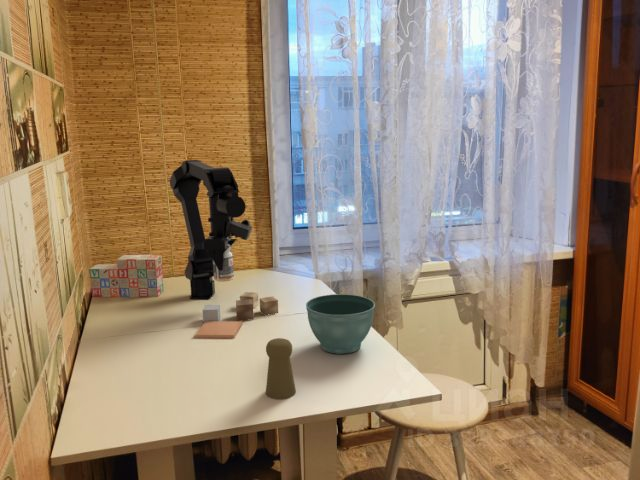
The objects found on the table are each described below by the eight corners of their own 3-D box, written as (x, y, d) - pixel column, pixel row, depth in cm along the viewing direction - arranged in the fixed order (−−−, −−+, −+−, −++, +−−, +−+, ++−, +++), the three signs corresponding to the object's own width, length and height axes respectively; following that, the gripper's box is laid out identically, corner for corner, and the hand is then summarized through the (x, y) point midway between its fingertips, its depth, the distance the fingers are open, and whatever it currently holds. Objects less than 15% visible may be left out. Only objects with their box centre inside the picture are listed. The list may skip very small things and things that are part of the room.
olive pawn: (265, 386, 121) (263, 335, 118) (295, 384, 121) (293, 334, 119) (265, 400, 115) (263, 347, 112) (296, 398, 115) (294, 345, 113)
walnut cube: (237, 321, 160) (236, 305, 159) (236, 315, 164) (235, 300, 164) (253, 319, 161) (253, 304, 160) (252, 314, 165) (252, 299, 164)
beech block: (240, 309, 170) (240, 296, 169) (245, 305, 174) (245, 292, 173) (253, 310, 169) (253, 296, 168) (258, 305, 173) (257, 292, 172)
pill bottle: (237, 277, 169) (235, 243, 167) (228, 282, 164) (226, 248, 162) (220, 276, 171) (218, 243, 169) (210, 281, 166) (208, 247, 164)
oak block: (265, 315, 164) (264, 302, 163) (260, 311, 168) (259, 298, 167) (278, 313, 166) (277, 300, 165) (273, 309, 169) (272, 296, 168)
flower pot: (339, 330, 152) (339, 289, 149) (388, 346, 140) (389, 302, 138) (293, 347, 141) (291, 304, 138) (342, 366, 129) (341, 320, 127)
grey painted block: (203, 324, 158) (202, 310, 158) (206, 319, 162) (205, 305, 162) (218, 323, 159) (217, 309, 158) (220, 318, 162) (219, 304, 162)
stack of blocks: (91, 297, 185) (87, 259, 182) (99, 291, 191) (96, 254, 188) (158, 297, 184) (155, 258, 181) (164, 291, 190) (161, 254, 187)
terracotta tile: (195, 337, 148) (195, 334, 148) (206, 324, 158) (205, 321, 158) (234, 338, 148) (234, 335, 147) (242, 324, 157) (242, 321, 157)
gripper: (241, 218, 154) (244, 276, 157) (255, 207, 172) (257, 259, 175) (199, 218, 155) (203, 276, 158) (217, 208, 173) (220, 259, 176)
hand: (223, 267), depth 167 cm, fingers closed on pill bottle, 6 cm apart
